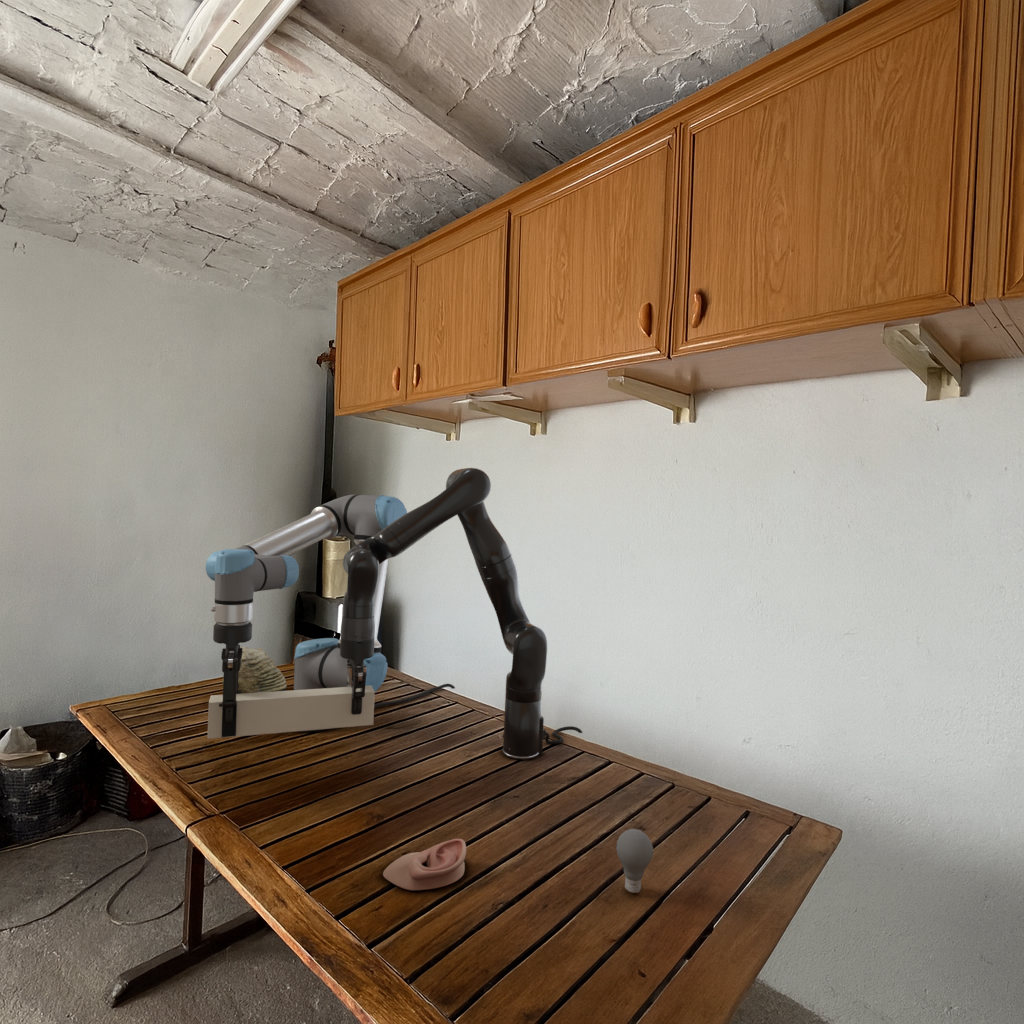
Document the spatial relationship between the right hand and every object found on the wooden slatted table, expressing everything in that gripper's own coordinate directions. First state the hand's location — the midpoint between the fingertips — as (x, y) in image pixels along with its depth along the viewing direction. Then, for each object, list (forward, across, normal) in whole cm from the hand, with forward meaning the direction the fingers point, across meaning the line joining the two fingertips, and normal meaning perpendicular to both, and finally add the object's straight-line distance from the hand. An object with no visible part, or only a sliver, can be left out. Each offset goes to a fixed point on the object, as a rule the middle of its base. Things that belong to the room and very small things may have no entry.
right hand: (354, 709), depth 144 cm
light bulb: (+15, +57, +39) cm, 70 cm away
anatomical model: (+15, +41, +7) cm, 45 cm away
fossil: (+15, -66, -22) cm, 71 cm away
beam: (+3, 0, -13) cm, 13 cm away
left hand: (+3, 0, -26) cm, 26 cm away
